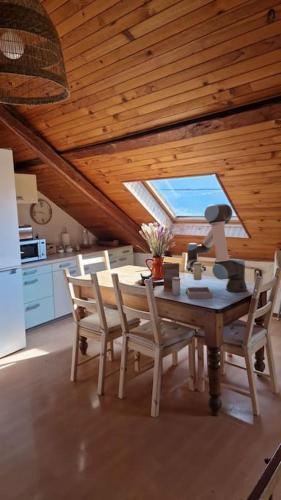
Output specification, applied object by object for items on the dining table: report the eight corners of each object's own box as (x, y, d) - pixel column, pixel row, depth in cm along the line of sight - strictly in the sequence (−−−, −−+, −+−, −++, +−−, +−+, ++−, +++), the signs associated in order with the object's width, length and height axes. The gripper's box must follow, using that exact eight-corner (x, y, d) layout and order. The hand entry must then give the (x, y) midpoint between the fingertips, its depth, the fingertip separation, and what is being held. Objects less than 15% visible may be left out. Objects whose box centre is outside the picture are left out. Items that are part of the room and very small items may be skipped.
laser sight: (146, 290, 269) (145, 277, 268) (138, 283, 291) (138, 271, 289) (158, 289, 271) (157, 276, 270) (149, 282, 293) (149, 270, 292)
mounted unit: (163, 288, 272) (163, 263, 269) (179, 287, 272) (178, 262, 269) (164, 290, 264) (163, 265, 261) (180, 290, 264) (179, 264, 261)
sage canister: (202, 278, 252) (202, 262, 250) (199, 280, 247) (199, 264, 246) (195, 278, 255) (195, 262, 253) (192, 279, 250) (192, 263, 249)
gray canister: (181, 293, 255) (181, 277, 254) (178, 295, 250) (178, 279, 248) (173, 292, 258) (173, 277, 256) (171, 294, 253) (171, 278, 251)
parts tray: (186, 292, 259) (186, 287, 258) (207, 291, 259) (207, 287, 258) (189, 298, 243) (189, 293, 242) (212, 297, 243) (212, 292, 242)
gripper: (206, 269, 268) (211, 276, 245) (182, 270, 269) (185, 277, 246) (206, 260, 267) (211, 265, 244) (181, 260, 268) (185, 266, 245)
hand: (198, 271), depth 245 cm, fingers closed on sage canister, 5 cm apart
